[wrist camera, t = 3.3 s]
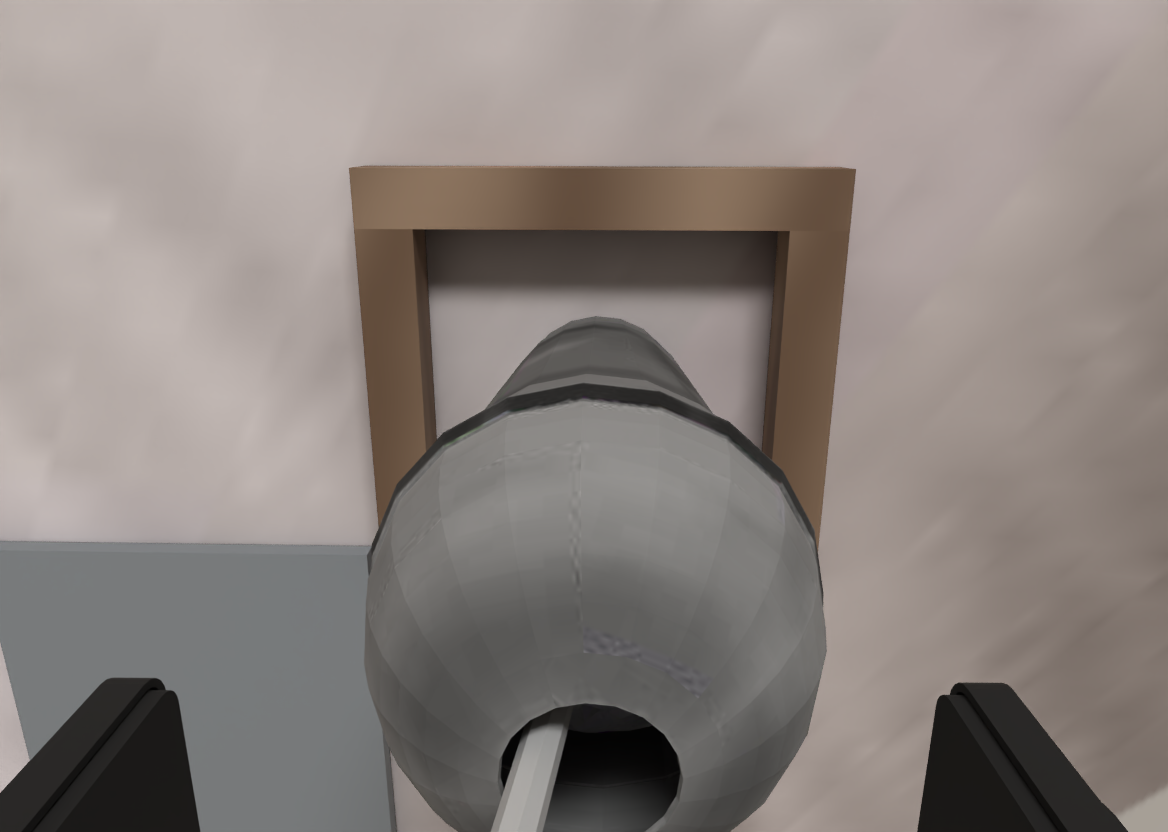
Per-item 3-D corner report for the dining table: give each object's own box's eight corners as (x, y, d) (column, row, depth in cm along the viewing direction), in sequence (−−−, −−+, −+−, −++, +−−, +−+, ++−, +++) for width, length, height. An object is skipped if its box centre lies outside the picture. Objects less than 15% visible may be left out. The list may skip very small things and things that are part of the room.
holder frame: (840, 167, 22) (855, 169, 21) (800, 589, 26) (811, 615, 25) (365, 166, 23) (349, 167, 21) (397, 583, 27) (385, 608, 25)
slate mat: (372, 546, 26) (366, 555, 26) (398, 850, 30) (394, 864, 29) (-10, 541, 26) (-24, 550, 26) (64, 843, 30) (54, 857, 30)
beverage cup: (682, 534, 26) (897, 1650, 7) (449, 474, 25) (-17, 1488, 6) (760, 306, 23) (1410, 1026, 5) (506, 236, 23) (45, 708, 4)
